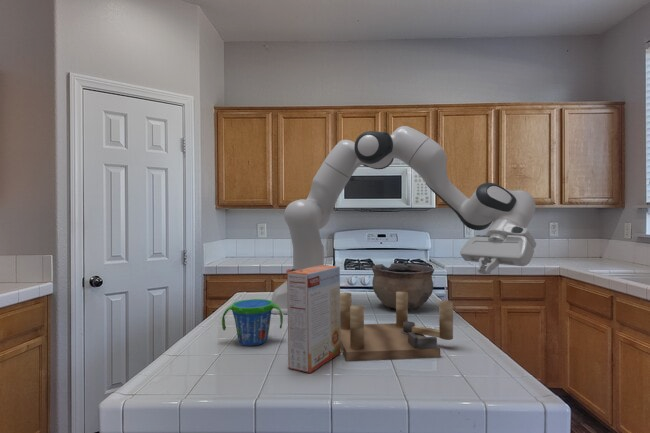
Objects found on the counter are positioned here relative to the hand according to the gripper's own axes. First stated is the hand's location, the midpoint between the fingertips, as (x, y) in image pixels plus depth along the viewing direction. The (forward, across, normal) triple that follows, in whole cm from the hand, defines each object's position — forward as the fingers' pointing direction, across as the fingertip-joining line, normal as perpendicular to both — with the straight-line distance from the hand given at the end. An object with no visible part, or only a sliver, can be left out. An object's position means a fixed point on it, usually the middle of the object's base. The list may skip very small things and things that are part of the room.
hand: (483, 272), depth 105 cm
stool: (+33, -9, -9) cm, 35 cm away
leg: (+24, -3, -4) cm, 24 cm away
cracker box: (+47, -8, -24) cm, 53 cm away
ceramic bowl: (+10, -36, +14) cm, 40 cm away
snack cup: (+52, -27, -29) cm, 65 cm away
